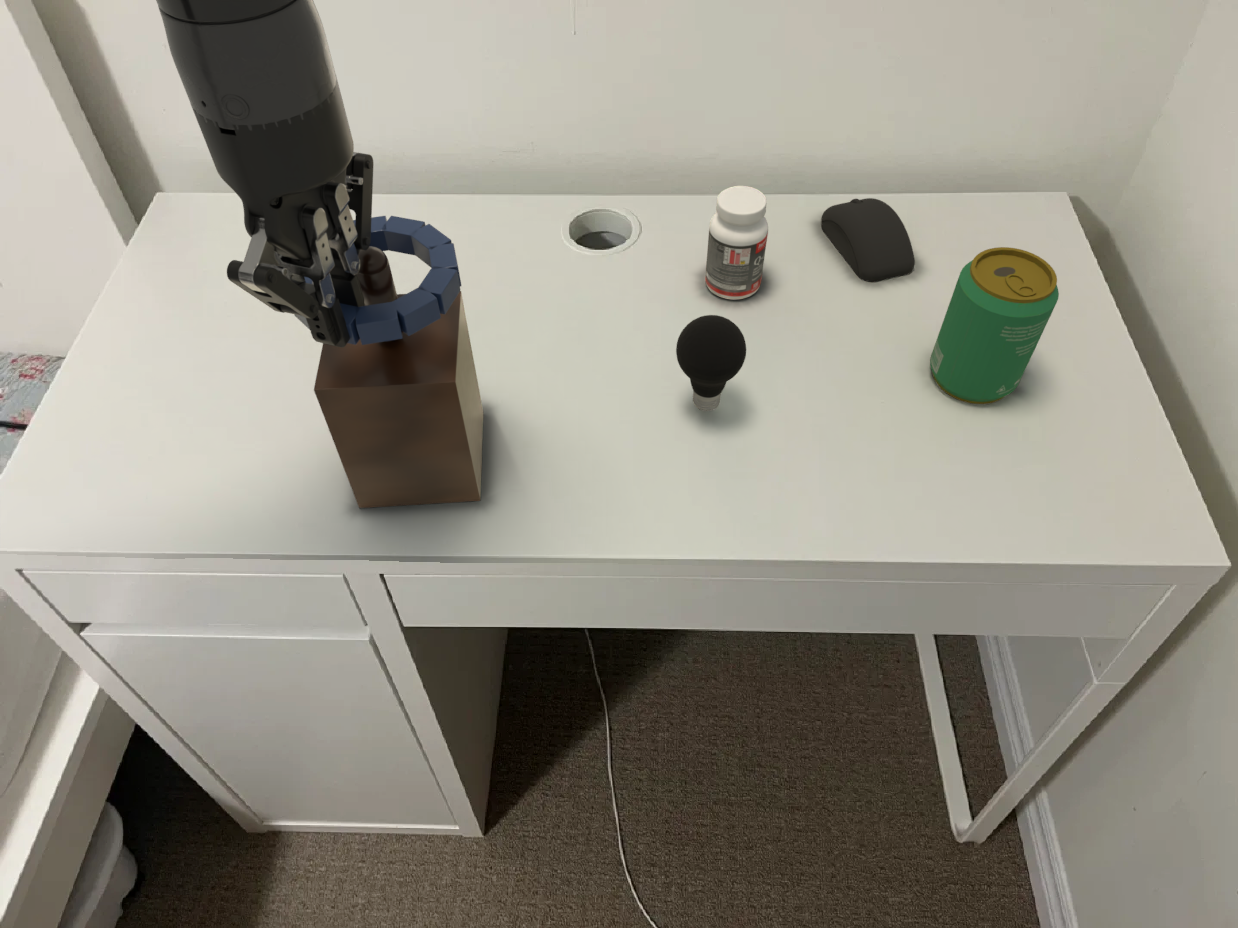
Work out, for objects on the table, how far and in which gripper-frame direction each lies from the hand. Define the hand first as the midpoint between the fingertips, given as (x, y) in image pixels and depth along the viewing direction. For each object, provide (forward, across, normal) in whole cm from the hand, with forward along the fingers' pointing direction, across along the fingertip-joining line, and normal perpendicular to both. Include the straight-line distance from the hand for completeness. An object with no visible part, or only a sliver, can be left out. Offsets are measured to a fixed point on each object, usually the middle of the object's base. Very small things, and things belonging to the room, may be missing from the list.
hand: (342, 329), depth 61 cm
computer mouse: (+19, -45, +33) cm, 59 cm away
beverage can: (+19, -28, +45) cm, 56 cm away
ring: (0, -5, 0) cm, 5 cm away
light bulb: (+19, -18, +22) cm, 34 cm away
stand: (+19, -5, 0) cm, 20 cm away
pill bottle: (+19, -35, +20) cm, 45 cm away
